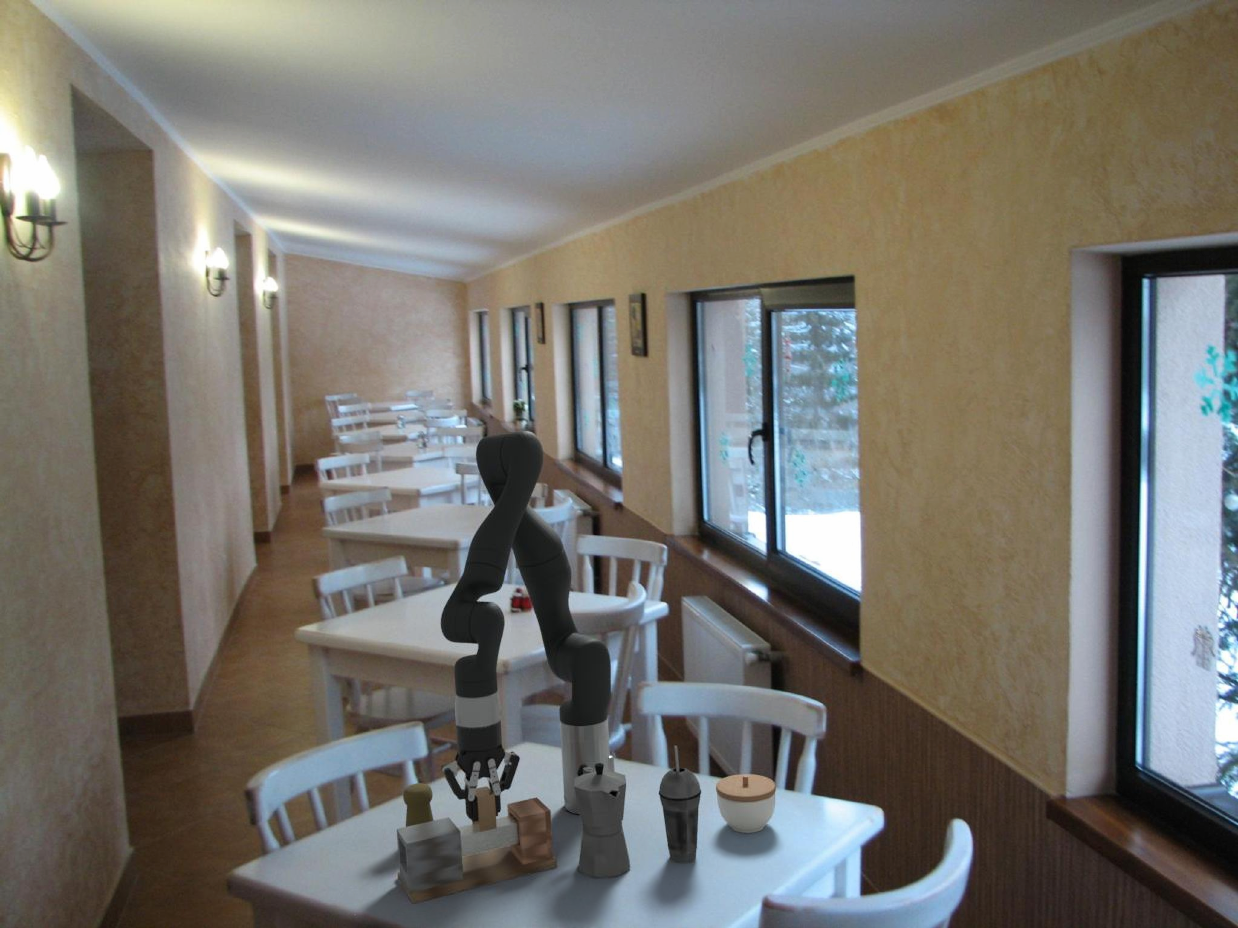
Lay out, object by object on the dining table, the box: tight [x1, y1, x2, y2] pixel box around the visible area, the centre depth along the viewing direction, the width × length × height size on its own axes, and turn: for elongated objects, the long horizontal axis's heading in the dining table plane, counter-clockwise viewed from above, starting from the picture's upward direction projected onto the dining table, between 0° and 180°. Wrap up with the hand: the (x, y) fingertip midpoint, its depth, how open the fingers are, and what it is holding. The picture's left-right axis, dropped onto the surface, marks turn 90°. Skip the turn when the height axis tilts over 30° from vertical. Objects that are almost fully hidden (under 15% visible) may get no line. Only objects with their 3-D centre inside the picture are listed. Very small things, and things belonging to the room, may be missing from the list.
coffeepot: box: [574, 763, 631, 879], centre depth 188 cm, size 15×9×18 cm, turn 25°
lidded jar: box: [715, 773, 777, 834], centre depth 201 cm, size 11×11×9 cm
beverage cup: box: [658, 745, 702, 864], centre depth 189 cm, size 7×7×20 cm
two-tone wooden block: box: [457, 785, 520, 857], centre depth 187 cm, size 17×4×10 cm, turn 115°
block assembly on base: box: [396, 796, 558, 904], centre depth 188 cm, size 25×10×9 cm, turn 115°
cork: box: [402, 782, 435, 827], centre depth 200 cm, size 6×6×11 cm
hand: (483, 816), depth 188 cm, fingers closed on two-tone wooden block, 3 cm apart
